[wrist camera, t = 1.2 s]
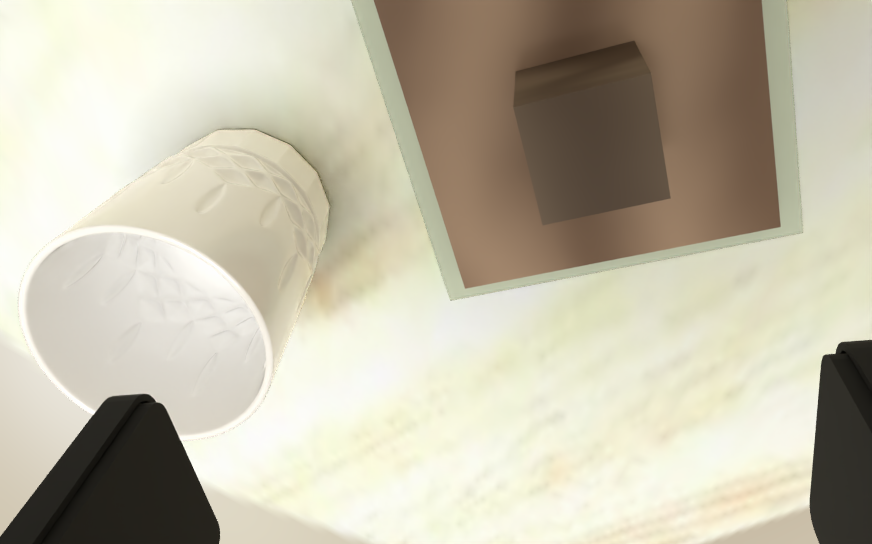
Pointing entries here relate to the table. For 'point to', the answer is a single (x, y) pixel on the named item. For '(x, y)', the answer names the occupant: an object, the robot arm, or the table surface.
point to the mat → (790, 225)
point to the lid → (586, 126)
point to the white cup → (182, 283)
